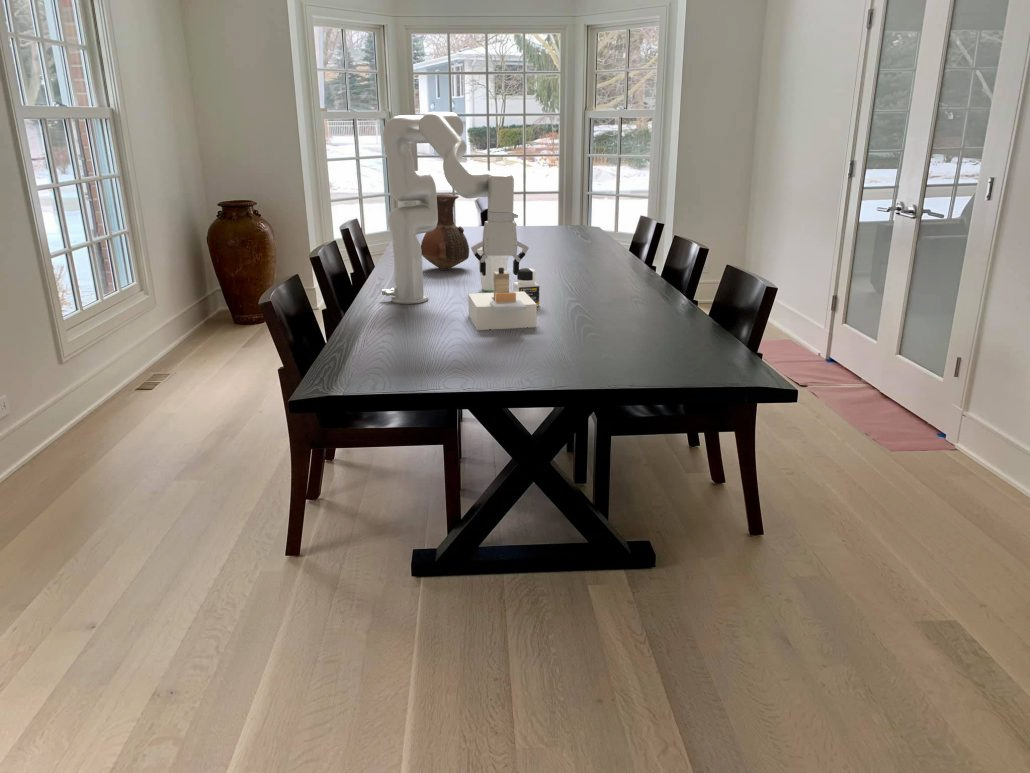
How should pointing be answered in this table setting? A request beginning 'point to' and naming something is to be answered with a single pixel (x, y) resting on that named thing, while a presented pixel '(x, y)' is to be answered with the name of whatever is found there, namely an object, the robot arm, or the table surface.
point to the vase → (445, 237)
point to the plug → (501, 281)
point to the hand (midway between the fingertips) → (499, 274)
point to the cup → (491, 270)
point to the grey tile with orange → (507, 302)
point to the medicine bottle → (527, 284)
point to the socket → (501, 312)
